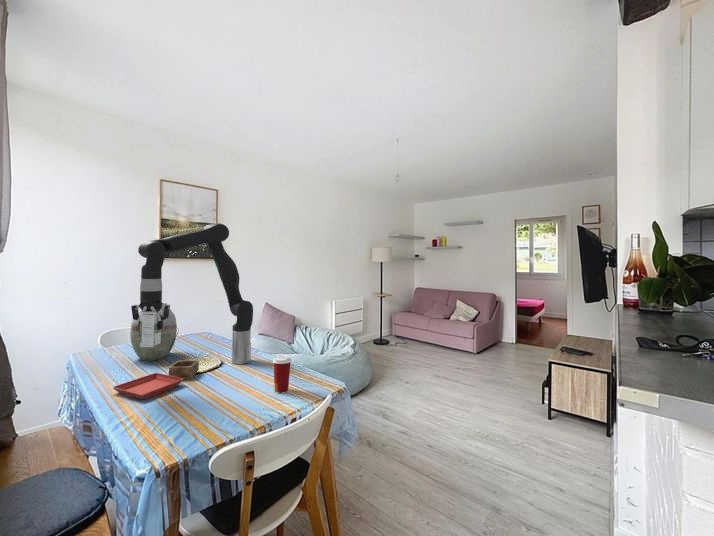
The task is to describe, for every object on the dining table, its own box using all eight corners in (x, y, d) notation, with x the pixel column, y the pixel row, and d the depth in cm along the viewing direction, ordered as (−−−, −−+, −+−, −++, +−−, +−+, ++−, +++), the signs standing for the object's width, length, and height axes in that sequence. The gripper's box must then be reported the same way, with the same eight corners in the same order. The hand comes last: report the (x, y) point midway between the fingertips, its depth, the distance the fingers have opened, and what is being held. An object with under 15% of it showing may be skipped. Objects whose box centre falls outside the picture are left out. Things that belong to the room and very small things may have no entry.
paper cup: (294, 388, 132) (294, 356, 132) (284, 395, 125) (285, 361, 125) (278, 385, 135) (279, 354, 134) (268, 392, 127) (268, 359, 127)
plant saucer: (111, 394, 122) (111, 386, 122) (155, 379, 139) (155, 371, 139) (141, 403, 116) (141, 394, 116) (184, 386, 132) (184, 378, 132)
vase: (184, 356, 172) (184, 302, 171) (141, 366, 154) (142, 306, 153) (164, 349, 183) (165, 299, 183) (122, 358, 165) (123, 303, 165)
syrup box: (147, 343, 130) (147, 309, 130) (161, 343, 130) (162, 309, 130) (138, 347, 124) (139, 311, 124) (154, 347, 125) (154, 312, 124)
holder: (198, 371, 149) (198, 360, 149) (191, 378, 140) (191, 366, 140) (177, 372, 147) (177, 360, 147) (168, 379, 138) (168, 367, 138)
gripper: (174, 289, 132) (173, 327, 132) (137, 288, 129) (136, 328, 130) (166, 290, 124) (165, 331, 125) (126, 290, 122) (126, 332, 122)
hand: (150, 329), depth 127 cm, fingers closed on syrup box, 6 cm apart
